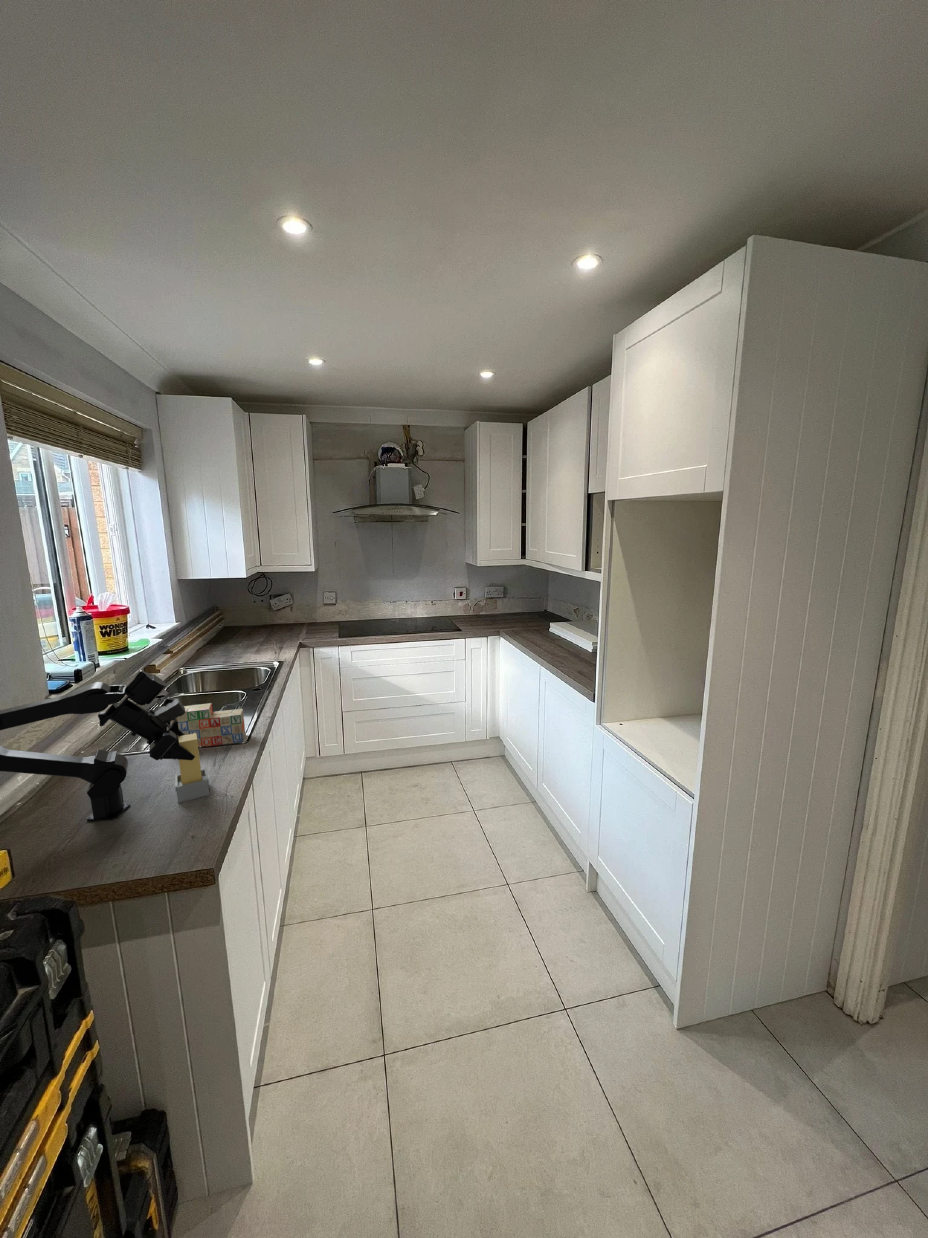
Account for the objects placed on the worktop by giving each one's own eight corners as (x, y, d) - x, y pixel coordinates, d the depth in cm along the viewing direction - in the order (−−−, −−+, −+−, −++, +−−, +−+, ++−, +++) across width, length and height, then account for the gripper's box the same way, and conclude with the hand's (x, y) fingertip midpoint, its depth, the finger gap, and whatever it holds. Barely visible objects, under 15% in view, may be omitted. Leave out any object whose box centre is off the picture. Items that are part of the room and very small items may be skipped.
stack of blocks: (246, 734, 166) (242, 699, 164) (243, 742, 160) (239, 705, 158) (174, 743, 160) (169, 707, 158) (168, 751, 154) (163, 713, 152)
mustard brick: (182, 788, 125) (176, 743, 123) (181, 780, 129) (176, 736, 127) (202, 783, 127) (197, 739, 125) (201, 776, 131) (196, 733, 129)
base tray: (177, 803, 124) (175, 787, 123) (176, 790, 130) (175, 775, 129) (210, 795, 127) (208, 779, 127) (208, 783, 134) (206, 768, 133)
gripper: (160, 703, 114) (218, 738, 121) (161, 682, 130) (212, 714, 137) (123, 743, 111) (185, 776, 119) (129, 717, 127) (183, 748, 135)
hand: (193, 751), depth 127 cm, fingers open, 9 cm apart
